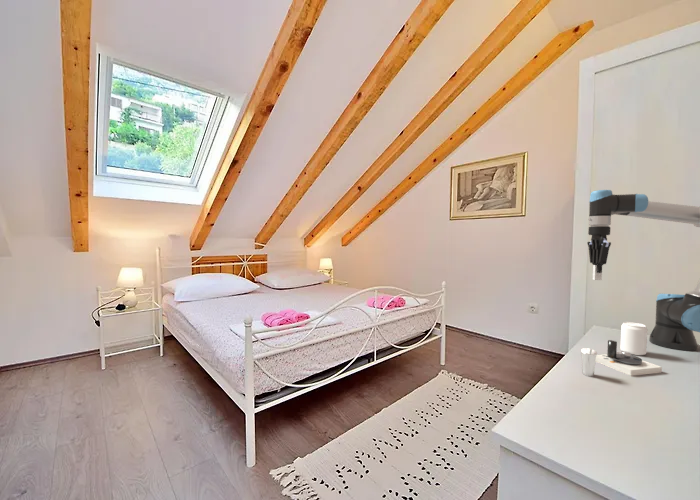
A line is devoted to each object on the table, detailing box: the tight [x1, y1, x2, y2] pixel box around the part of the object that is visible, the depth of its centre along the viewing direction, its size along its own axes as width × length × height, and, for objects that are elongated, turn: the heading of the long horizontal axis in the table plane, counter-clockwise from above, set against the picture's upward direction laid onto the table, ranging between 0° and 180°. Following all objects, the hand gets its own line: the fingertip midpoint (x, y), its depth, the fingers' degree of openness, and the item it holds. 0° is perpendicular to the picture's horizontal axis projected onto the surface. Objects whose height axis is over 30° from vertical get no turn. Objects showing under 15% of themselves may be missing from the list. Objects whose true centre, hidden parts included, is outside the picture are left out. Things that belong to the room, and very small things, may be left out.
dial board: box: [596, 353, 663, 377], centre depth 118 cm, size 14×14×2 cm
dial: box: [606, 339, 643, 365], centre depth 118 cm, size 11×9×7 cm
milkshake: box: [580, 347, 598, 377], centre depth 110 cm, size 4×5×10 cm
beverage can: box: [619, 321, 648, 356], centre depth 132 cm, size 8×8×12 cm
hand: (597, 279), depth 139 cm, fingers closed
